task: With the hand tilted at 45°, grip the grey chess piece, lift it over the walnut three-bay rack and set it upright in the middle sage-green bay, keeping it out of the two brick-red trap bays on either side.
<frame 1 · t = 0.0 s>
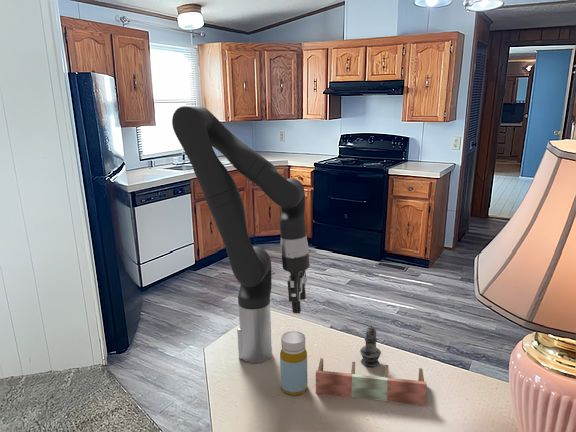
hand: (299, 305, 121), 17 cm above the countertop, tool pointing down, fingers open, 8 cm apart
grey chess piece: (370, 363, 123), on the countertop
bay rack: (369, 386, 113), on the countertop
bottle: (294, 388, 113), on the countertop
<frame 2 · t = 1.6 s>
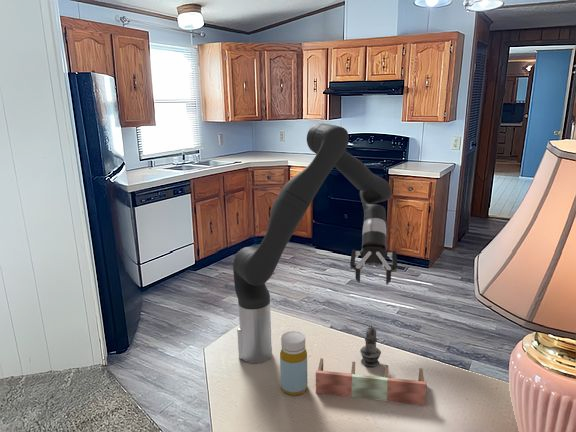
hand: (373, 282, 130), 20 cm above the countertop, tool tilted 45°, fingers open, 8 cm apart
nothing on the countertop moved.
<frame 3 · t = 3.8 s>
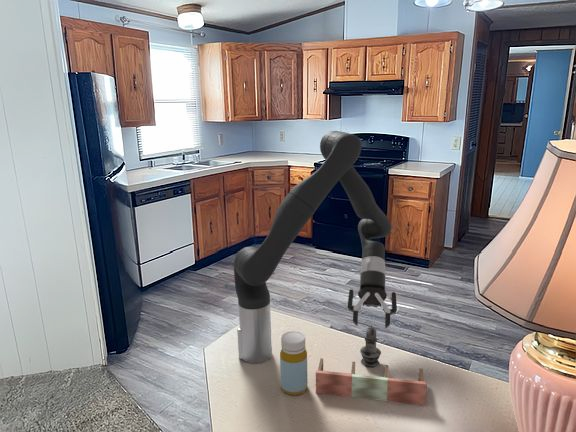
hand: (371, 326, 124), 10 cm above the countertop, tool tilted 45°, fingers open, 8 cm apart
nothing on the countertop moved.
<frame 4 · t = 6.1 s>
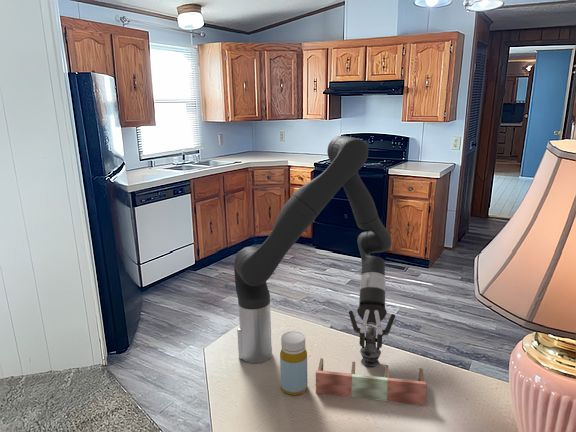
hand: (370, 348, 120), 6 cm above the countertop, tool tilted 45°, fingers closed on grey chess piece, 3 cm apart
grey chess piece: (370, 363, 123), on the countertop, touching gripper
everything else where it was.
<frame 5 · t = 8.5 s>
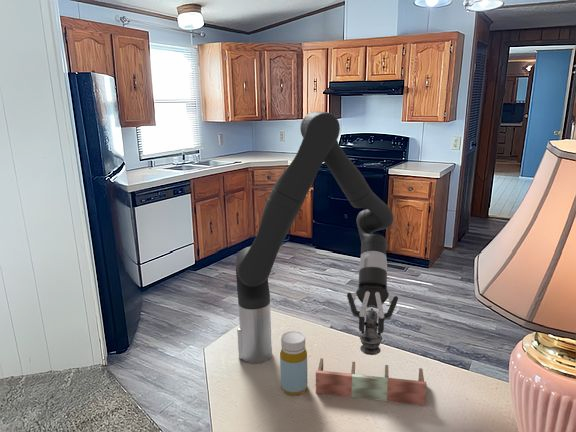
hand: (371, 333, 109), 16 cm above the countertop, tool tilted 45°, fingers closed on grey chess piece, 3 cm apart
grey chess piece: (370, 350, 112), point 10 cm above the countertop, touching gripper
everything else where it was.
when the fingers open (7 cm above the countertop, at t = 10.9 s): grey chess piece drops 1 cm, resting in bay rack.
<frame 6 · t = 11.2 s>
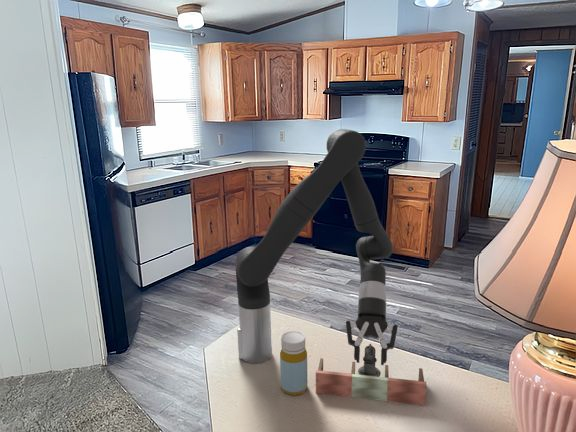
hand: (370, 363, 110), 8 cm above the countertop, tool tilted 45°, fingers open, 5 cm apart
grey chess piece: (368, 384, 114), resting in bay rack
everything else where it was.
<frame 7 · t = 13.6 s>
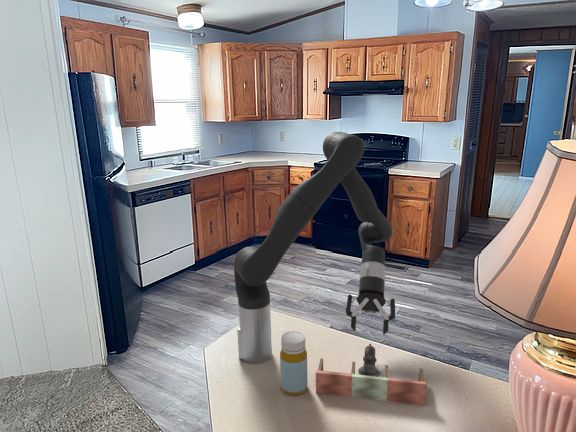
hand: (369, 332, 123), 8 cm above the countertop, tool tilted 45°, fingers open, 8 cm apart
nothing on the countertop moved.
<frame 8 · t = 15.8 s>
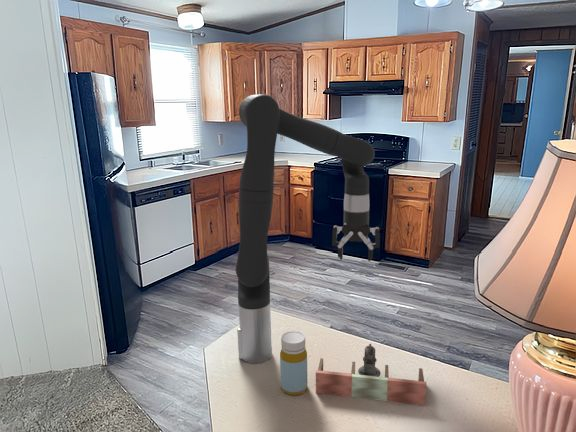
hand: (355, 259, 131), 26 cm above the countertop, tool pointing down, fingers open, 8 cm apart
nothing on the countertop moved.
at the end: grey chess piece 1.7 cm off-centre on the bay rack, point 0.0 cm above the bay rack's base; grey chess piece tilted 0°; the gripper is holding nothing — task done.
